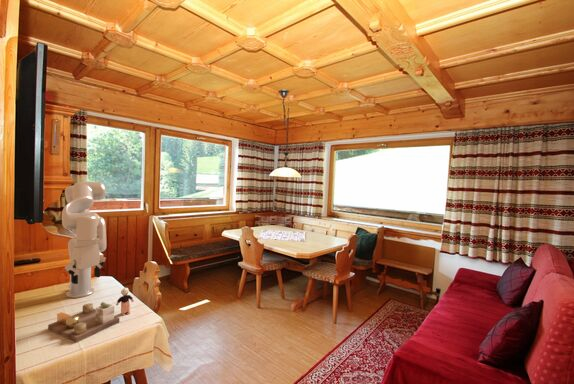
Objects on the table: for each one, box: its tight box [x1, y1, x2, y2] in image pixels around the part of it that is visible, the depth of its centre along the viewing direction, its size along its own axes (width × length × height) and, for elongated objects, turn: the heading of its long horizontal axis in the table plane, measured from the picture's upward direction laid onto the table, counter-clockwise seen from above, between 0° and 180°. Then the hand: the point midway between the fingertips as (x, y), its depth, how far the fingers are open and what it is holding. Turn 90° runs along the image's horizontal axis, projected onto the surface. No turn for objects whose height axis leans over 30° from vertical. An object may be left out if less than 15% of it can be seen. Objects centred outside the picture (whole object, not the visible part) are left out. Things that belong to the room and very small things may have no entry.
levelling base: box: [47, 301, 120, 343], centre depth 126 cm, size 20×18×10 cm
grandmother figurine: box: [115, 287, 135, 317], centre depth 137 cm, size 8×4×13 cm, turn 148°
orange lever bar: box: [56, 312, 79, 329], centre depth 123 cm, size 12×4×4 cm, turn 66°
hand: (86, 280), depth 129 cm, fingers open, 9 cm apart
